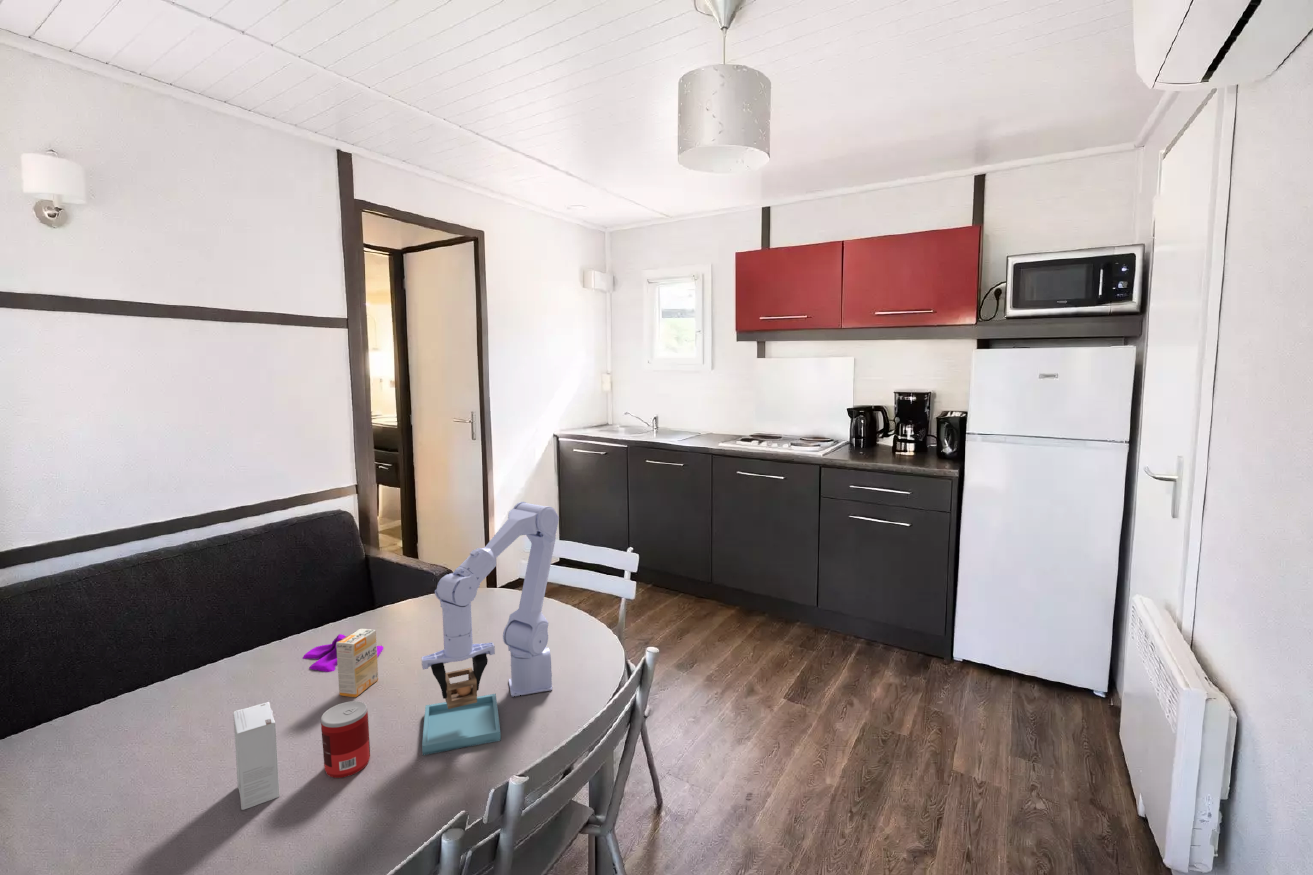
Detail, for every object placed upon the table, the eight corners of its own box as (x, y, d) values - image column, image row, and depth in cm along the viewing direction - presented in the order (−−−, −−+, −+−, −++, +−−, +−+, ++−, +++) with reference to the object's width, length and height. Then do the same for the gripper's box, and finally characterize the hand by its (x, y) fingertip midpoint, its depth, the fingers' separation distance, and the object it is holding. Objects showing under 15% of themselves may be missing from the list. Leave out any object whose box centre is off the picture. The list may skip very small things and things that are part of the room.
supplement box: (356, 698, 139) (353, 644, 138) (338, 696, 140) (334, 642, 139) (379, 680, 147) (376, 629, 146) (362, 677, 148) (359, 627, 147)
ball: (465, 693, 129) (472, 681, 130) (467, 700, 127) (475, 687, 127) (453, 689, 128) (460, 676, 129) (454, 696, 126) (462, 683, 126)
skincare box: (237, 786, 110) (230, 710, 108) (275, 772, 114) (269, 699, 112) (241, 813, 104) (234, 732, 102) (282, 797, 108) (276, 719, 106)
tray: (496, 701, 138) (495, 693, 137) (500, 740, 124) (500, 731, 123) (426, 713, 133) (425, 705, 133) (422, 755, 119) (422, 746, 119)
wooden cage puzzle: (472, 689, 131) (471, 667, 131) (477, 702, 126) (476, 679, 126) (444, 695, 129) (443, 673, 128) (448, 709, 124) (447, 686, 123)
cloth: (394, 657, 160) (392, 635, 159) (316, 682, 147) (314, 658, 146) (365, 630, 176) (364, 610, 175) (293, 651, 163) (291, 629, 162)
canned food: (379, 756, 119) (376, 704, 117) (346, 783, 111) (342, 727, 110) (349, 748, 121) (345, 697, 120) (315, 774, 114) (311, 719, 112)
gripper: (489, 617, 132) (491, 675, 134) (418, 630, 126) (421, 691, 128) (496, 629, 126) (498, 690, 128) (422, 644, 120) (425, 708, 121)
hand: (460, 692), depth 127 cm, fingers closed on wooden cage puzzle, 6 cm apart
